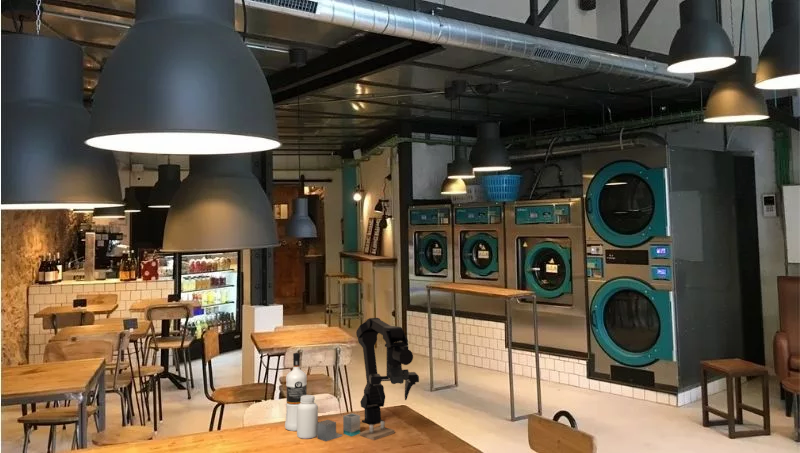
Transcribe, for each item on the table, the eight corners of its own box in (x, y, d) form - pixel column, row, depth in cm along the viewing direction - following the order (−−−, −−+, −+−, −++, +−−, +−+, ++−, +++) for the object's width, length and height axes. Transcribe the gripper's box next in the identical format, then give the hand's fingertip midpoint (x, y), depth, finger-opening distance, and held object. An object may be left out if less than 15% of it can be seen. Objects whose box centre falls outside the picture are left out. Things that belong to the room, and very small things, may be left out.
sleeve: (343, 433, 219) (343, 415, 219) (352, 431, 222) (352, 413, 223) (351, 436, 216) (351, 417, 216) (360, 433, 219) (360, 415, 220)
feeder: (317, 438, 214) (317, 422, 214) (333, 433, 220) (333, 417, 220) (325, 441, 210) (325, 425, 211) (342, 436, 216) (342, 420, 217)
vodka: (307, 423, 233) (307, 350, 234) (309, 430, 224) (308, 354, 225) (284, 425, 230) (284, 351, 232) (285, 432, 221) (285, 355, 223)
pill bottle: (321, 434, 219) (321, 395, 220) (310, 440, 212) (310, 400, 213) (304, 431, 223) (304, 393, 223) (292, 437, 215) (292, 397, 216)
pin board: (359, 435, 217) (359, 424, 217) (380, 428, 225) (379, 418, 225) (374, 440, 211) (374, 428, 212) (394, 433, 219) (394, 422, 220)
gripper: (373, 365, 208) (373, 408, 208) (422, 363, 212) (422, 405, 211) (368, 359, 219) (368, 399, 219) (415, 357, 223) (415, 397, 222)
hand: (393, 400), depth 218 cm, fingers open, 9 cm apart
